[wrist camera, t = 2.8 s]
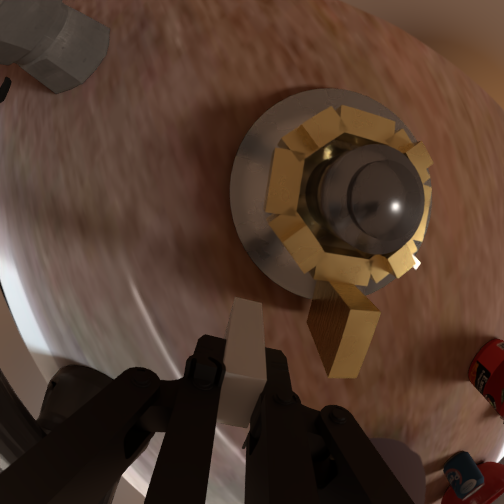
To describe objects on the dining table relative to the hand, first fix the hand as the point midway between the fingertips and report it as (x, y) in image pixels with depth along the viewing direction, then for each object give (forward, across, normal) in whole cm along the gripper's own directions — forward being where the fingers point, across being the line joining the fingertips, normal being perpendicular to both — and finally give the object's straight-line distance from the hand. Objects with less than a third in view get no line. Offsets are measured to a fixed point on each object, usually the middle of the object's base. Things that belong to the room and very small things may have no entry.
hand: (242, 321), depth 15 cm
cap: (+9, -6, -8) cm, 14 cm away
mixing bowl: (+10, -79, +49) cm, 94 cm away
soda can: (+9, -55, +32) cm, 65 cm away
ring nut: (+7, -6, -6) cm, 11 cm away
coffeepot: (+9, +23, -16) cm, 30 cm away
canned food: (+9, -37, +5) cm, 39 cm away
